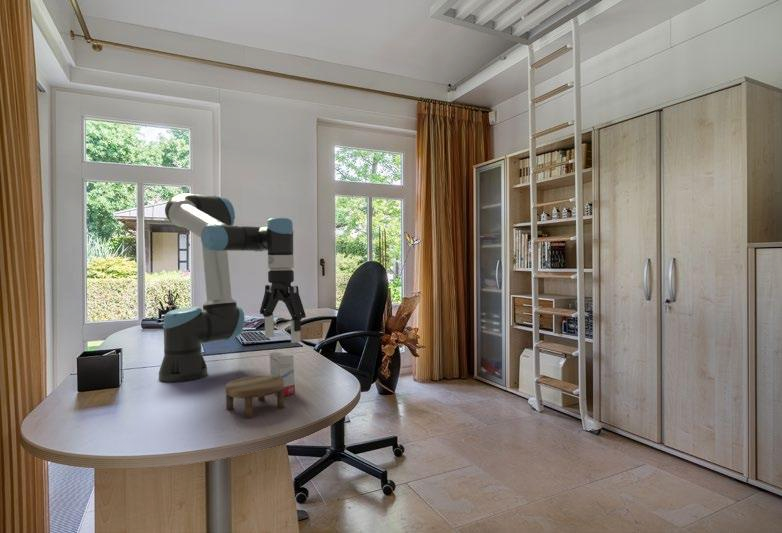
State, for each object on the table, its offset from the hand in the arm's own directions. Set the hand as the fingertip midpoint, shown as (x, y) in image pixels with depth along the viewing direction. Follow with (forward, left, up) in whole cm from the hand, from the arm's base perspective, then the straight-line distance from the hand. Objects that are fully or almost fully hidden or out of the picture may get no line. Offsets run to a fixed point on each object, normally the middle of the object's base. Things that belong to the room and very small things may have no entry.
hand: (282, 339), depth 130 cm
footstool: (+6, -13, -16) cm, 21 cm away
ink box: (0, 0, -16) cm, 16 cm away
